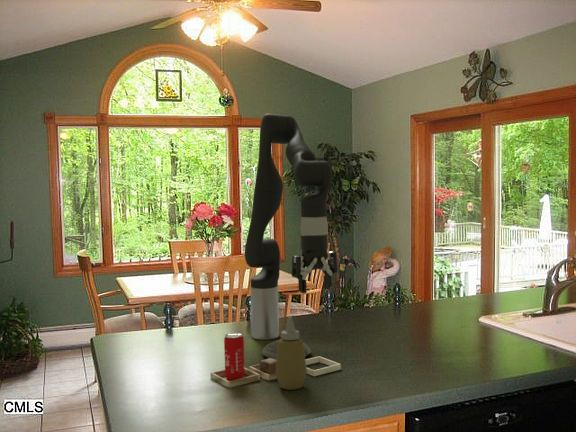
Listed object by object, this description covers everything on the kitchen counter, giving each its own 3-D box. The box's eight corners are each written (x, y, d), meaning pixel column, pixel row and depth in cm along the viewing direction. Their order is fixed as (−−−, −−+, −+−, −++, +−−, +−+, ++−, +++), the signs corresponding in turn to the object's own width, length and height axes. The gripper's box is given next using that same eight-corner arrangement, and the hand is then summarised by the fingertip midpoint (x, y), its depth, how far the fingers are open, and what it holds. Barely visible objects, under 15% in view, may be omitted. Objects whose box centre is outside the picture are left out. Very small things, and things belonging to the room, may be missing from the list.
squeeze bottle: (274, 382, 159) (273, 314, 158) (305, 380, 160) (303, 313, 158) (276, 392, 151) (275, 322, 150) (308, 391, 152) (307, 320, 150)
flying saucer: (286, 346, 193) (286, 329, 193) (321, 355, 183) (321, 337, 182) (251, 356, 183) (251, 339, 183) (286, 367, 172) (285, 348, 172)
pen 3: (292, 367, 170) (292, 362, 170) (319, 361, 176) (319, 356, 176) (313, 376, 163) (313, 371, 162) (340, 369, 168) (340, 363, 168)
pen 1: (210, 378, 163) (210, 372, 163) (240, 371, 168) (240, 365, 168) (228, 387, 155) (228, 382, 155) (259, 379, 161) (259, 374, 161)
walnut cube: (260, 375, 165) (259, 360, 165) (270, 371, 168) (270, 357, 167) (270, 378, 162) (270, 363, 162) (280, 374, 165) (280, 360, 165)
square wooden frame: (249, 371, 168) (248, 366, 168) (277, 364, 173) (277, 359, 173) (268, 380, 160) (268, 375, 160) (297, 373, 166) (297, 367, 165)
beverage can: (241, 382, 159) (240, 338, 158) (222, 381, 160) (221, 337, 159) (246, 376, 164) (245, 333, 163) (228, 375, 165) (227, 332, 164)
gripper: (325, 230, 174) (326, 285, 175) (285, 234, 166) (286, 292, 167) (342, 232, 168) (343, 289, 169) (301, 235, 160) (303, 296, 161)
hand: (315, 290), depth 168 cm, fingers open, 8 cm apart
